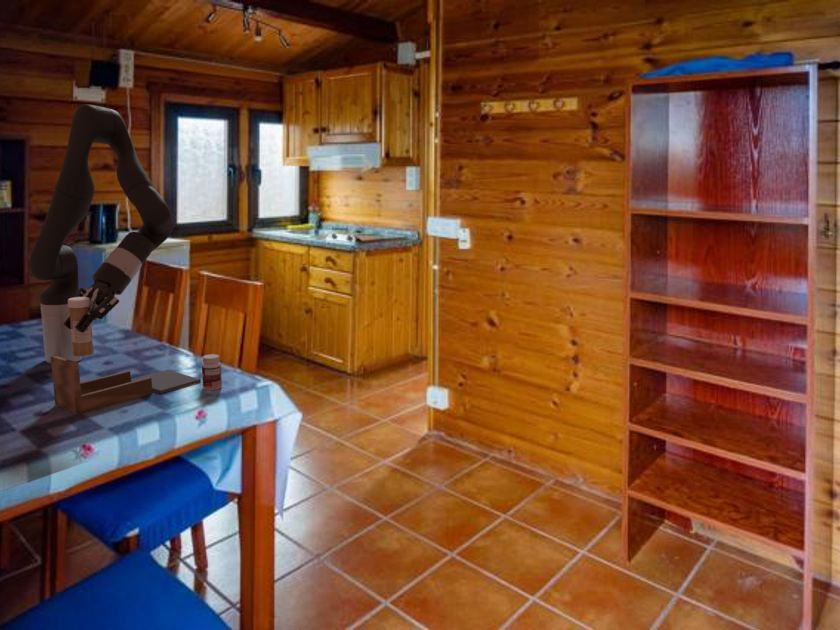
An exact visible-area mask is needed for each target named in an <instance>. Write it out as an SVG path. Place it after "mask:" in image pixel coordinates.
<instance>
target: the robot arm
mask: <svg viewBox="0 0 840 630" xmlns="http://www.w3.org/2000/svg"><path fill="white" fill-rule="evenodd" d="M128 130H129V129H128V128H127V126H126V123H125V120H123V117H122V116H121V114H120V113H119V112H118V111H117V110H114V109H111V108H108V107H103V106H99V105H93V104H88V103H87V104H82V105H80V106H79V107H77V109H76V110H75V112H74V115H73V118H72V121H71V125H70V130H69V136H68V142H67V145H66V146H67V147H66V151H65V155H64V157H63V158H64V159H63V163H62V167H61V170H60V173H59V176H58V179H57V182H56V185H55V187H54V191H53V194H52V197H51V200H50V205H49V208H48V211H47V214H46V216H45V219H44V222H43V224H42V228H41V231H40V232H39V234H38V237H37V239H36V241H35V243H34V245H33V247H32V250H31V253H30V256H29V261H28V264H29V265H28V266H29V271H30V272H31V273H30V274H31V275H32V276H33V277H34V279H36V280H39V281H51V282H50V284H49V286H48V287H46V289H45V290H43V291H42V292H40V294H39V302H40V315H41V323H42V337H43V347H44V358H45V363H47V364H49V365H51V356H54V355H55V356H59V357H62V358H65V359H68V360H71V361H74V362H79V361H81V360H83V359H82V358H83V356H74V355H73V344H72V337H71V322H70V311H69V307H68V299H70V298H74V297H88V298H89V299H90V302H89V308H88V310H87V312H86V314H87V315H84V316H83V317H82V318H81V320H80V321H79V322H78V324H77V325H76V326H75V328H76V329H77V330H78V331H80V332H82V333H83V332H85V330H86V329H87V328H88V327H89V325H90V324H91V325H92V323H93V322H94V321H96V320H98V319H99V320H102V319H104V318H105V316H107V315H108V314H109V313H110V312H111V311H112V310H113V308H115V307H116V306H117V305H118V304H119V303H120V300H119V298H117V297H116V296H119V295H120V296H121V295H122V294H123V292H125V290H126V289H127V287H128V286H129V284H130V283H131V282H132V281H133V279H134V278H135V276H137V274H138V272H139V271H140V269H141V267H142V266H143V264H144V263H145V262H146V261H147V259H148V258H149V256H151V253H152V252H154V250H156V249H157V248H159V247H160V246H161V245H162V244H163V243H164V242H165V241H166V240H167V239H169V237H170V236H171V234H172V232H173V230H174V220H173V217H172V212H171V209H170V207H169V205H168V204H167V202H166V201H165V199H164V198H163V197H162V196H161V195H160V193H159V192H158V191H157V190H156V188H155V186H154V184H153V183H152V181H151V179H150V178H149V176H148V174H147V173H146V171H145V169H144V168H143V165H142V164H141V162H140V159H139V157H138V154H137V152H136V150H135V146H134V143H133V141H132V138H131V136H130V134H129V131H128ZM94 143H98V144H104V145H108V146H109V148H111V149H112V151H113V152H114V153H115V155H116V157H117V159H116V160H117V164H116V178H117V181H118V184H119V185H120V187H121V189H122V190H123V191H122V192H124V194H125V195H126V198H127V200H128V201H129V202H130V203H131V205H132V206H134V207H135V209H136V210H137V213H138V214H139V216H140V218H141V221H142V225H141V228H139V229H138V230H137V231H131V232H129V233H127V234H126V235H125V237H123V239H122V240H121V242H119V243H118V245H117V246H116V248H115V249H114V250H113V251H112V252H110V254H108V255H107V257H106V258H105V260H104V261H103V263H102V264H101V265H100V266H99V267H98V268H97V270H96V271H95V272H94V274H92V279H93V281H94V282H93V283H92V285H91V286H89V287H88V289H87V288H86V289H84V288H83V287H80V283H79V263H78V258H77V255H76V253H75V251H74V250H73V249H72V248H71V247H70V246H69V245H65V244H64V242H65V241H66V239H67V238H68V236H69V235H70V234H71V233H72V232H73V231H74V230H75V229H76V227H77V226H79V225H80V223H81V222H82V221H83V220H84V218H85V217H86V216H87V214H88V213H89V211H90V207H91V205H92V202H93V199H94V196H95V190H96V189H95V188H96V187H95V183H94V179H93V176H92V173H91V170H90V166H89V156H90V151H91V148H92V145H93V144H94ZM79 287H80V288H79Z"/></svg>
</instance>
